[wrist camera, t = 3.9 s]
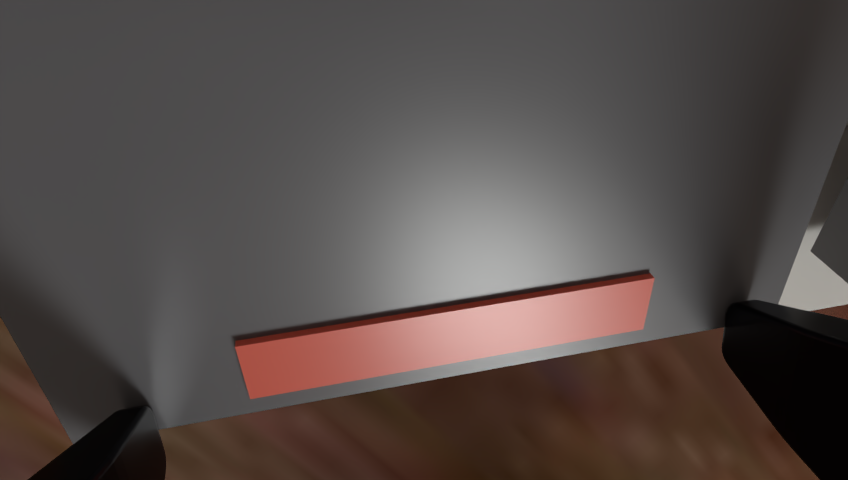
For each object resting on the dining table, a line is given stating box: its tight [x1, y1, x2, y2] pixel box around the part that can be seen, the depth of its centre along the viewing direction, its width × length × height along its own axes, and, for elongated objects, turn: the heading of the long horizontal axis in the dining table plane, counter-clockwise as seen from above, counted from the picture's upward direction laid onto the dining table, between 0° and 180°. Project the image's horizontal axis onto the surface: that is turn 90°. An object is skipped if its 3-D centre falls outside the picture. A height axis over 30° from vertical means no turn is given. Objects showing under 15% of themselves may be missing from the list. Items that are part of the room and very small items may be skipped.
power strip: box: [778, 121, 848, 311], centre depth 11 cm, size 25×10×4 cm, turn 94°
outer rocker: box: [0, 0, 848, 444], centre depth 7 cm, size 11×7×1 cm, turn 94°
